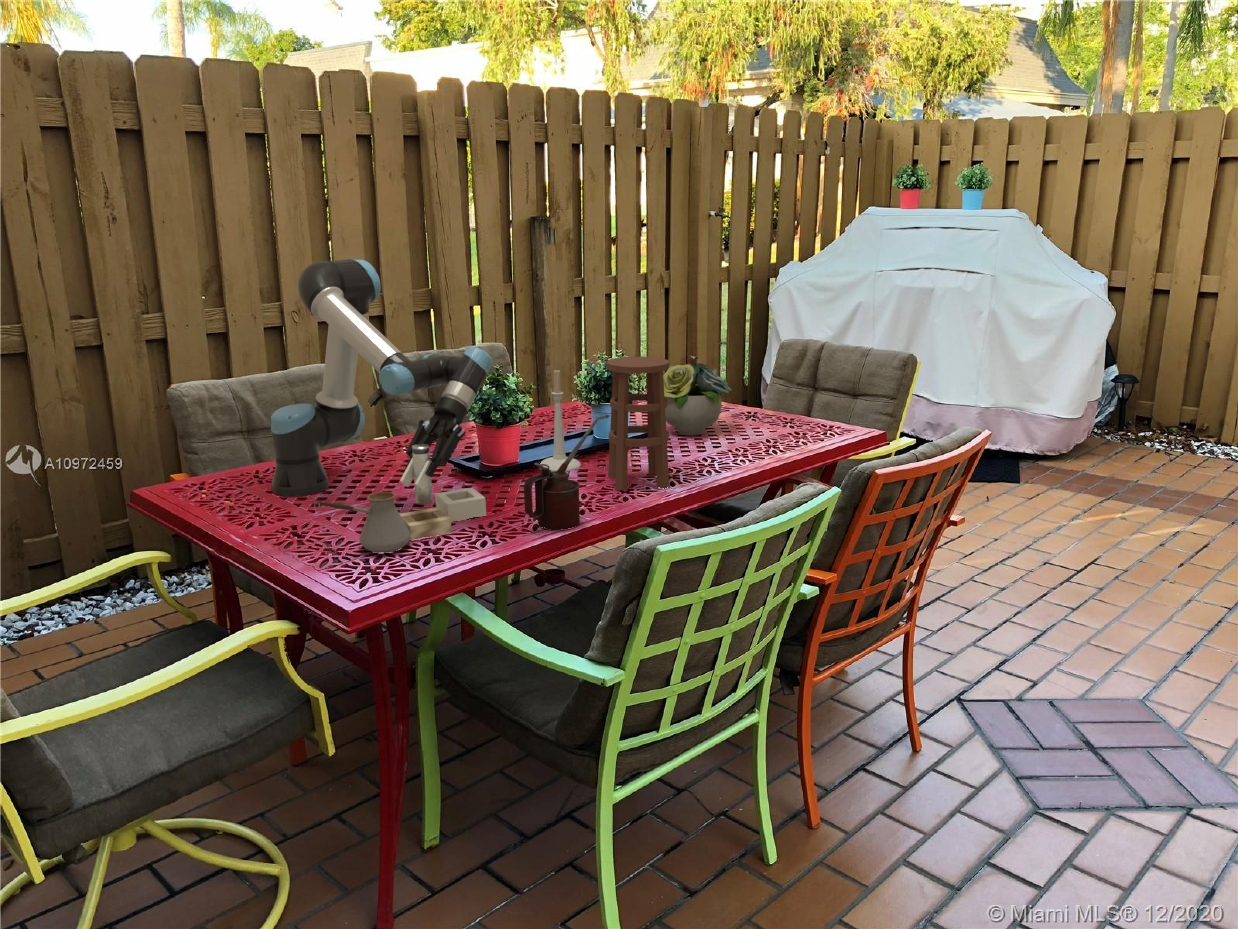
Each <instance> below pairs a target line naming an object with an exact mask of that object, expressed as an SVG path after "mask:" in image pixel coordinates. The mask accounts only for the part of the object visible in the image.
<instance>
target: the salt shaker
mask: <svg viewBox="0 0 1238 929" xmlns="http://www.w3.org/2000/svg"><path fill="white" fill-rule="evenodd" d="M430 447H431V446H430ZM430 447H429V445H428V444H416V445H413V446H412V455H413V469H414V478H413V481H414V482H413V483H414V495H415V504H417V505H421V506H424V505H430V504H432V503H433V502H434V500H433V486H432V477H430V478H429V480H428V482H427V484H426V486H425V488H424V490H421V489H420V488H419V487H418V486H417V485H415V483H416V481H417V479H418V477H419V475H420V473H421V471H422V469H423V467H424V466H425V464H426V462H427V460H428V461H430V462H431V460H430V459H429V458H431V455H430V454H431V453H430V451H431V450H430V449H431V448H430Z"/></svg>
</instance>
